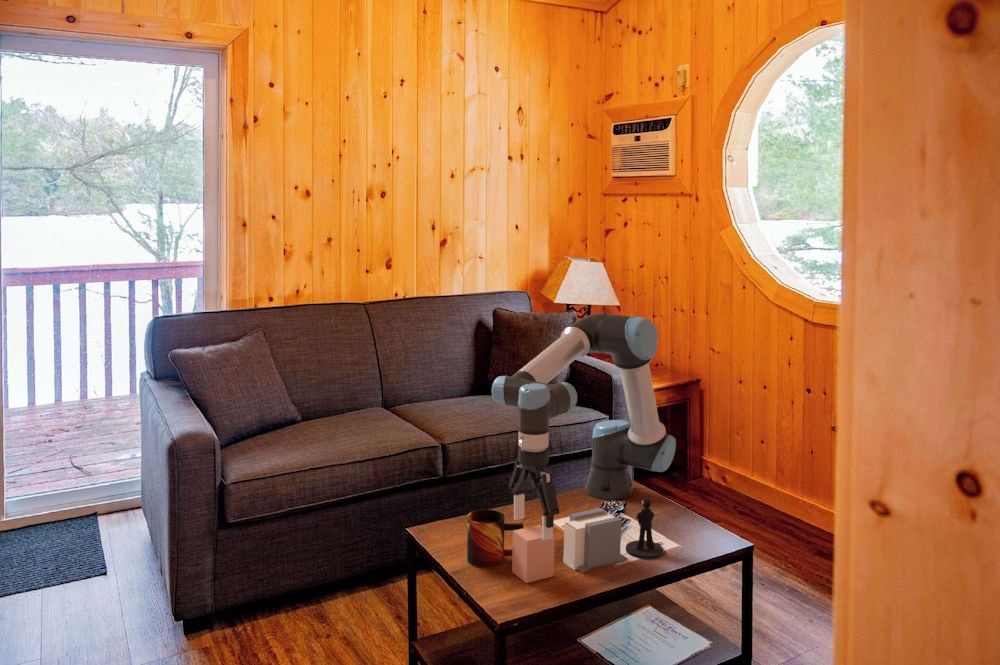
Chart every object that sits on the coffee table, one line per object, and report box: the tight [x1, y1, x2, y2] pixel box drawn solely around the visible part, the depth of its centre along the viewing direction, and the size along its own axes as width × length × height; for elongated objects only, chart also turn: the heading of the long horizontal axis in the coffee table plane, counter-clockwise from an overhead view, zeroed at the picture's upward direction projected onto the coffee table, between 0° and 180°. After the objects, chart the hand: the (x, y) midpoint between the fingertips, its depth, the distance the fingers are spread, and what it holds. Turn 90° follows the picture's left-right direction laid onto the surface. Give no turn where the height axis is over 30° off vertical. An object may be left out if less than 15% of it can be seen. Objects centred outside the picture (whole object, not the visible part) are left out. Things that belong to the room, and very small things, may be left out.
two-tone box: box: [561, 507, 628, 573], centre depth 218 cm, size 16×9×12 cm, turn 119°
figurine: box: [625, 497, 665, 560], centre depth 224 cm, size 10×10×15 cm
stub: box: [511, 524, 556, 584], centre depth 209 cm, size 8×7×11 cm
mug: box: [466, 509, 524, 569], centre depth 219 cm, size 10×14×12 cm
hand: (532, 528), depth 208 cm, fingers open, 13 cm apart
